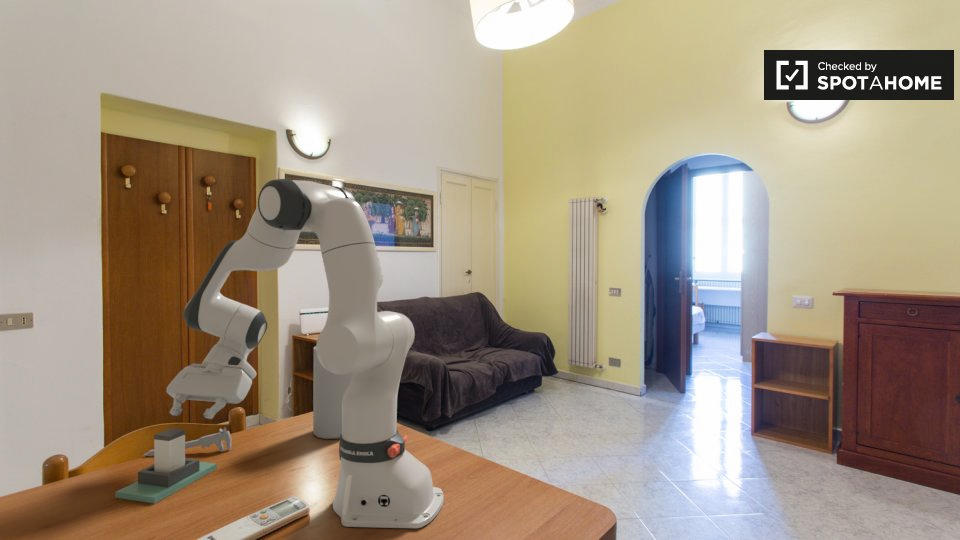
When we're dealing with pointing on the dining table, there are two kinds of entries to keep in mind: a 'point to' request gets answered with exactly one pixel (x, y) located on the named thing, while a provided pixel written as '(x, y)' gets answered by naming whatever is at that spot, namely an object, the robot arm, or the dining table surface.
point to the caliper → (207, 441)
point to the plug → (169, 450)
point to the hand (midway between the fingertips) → (190, 416)
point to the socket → (164, 481)
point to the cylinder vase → (328, 400)
